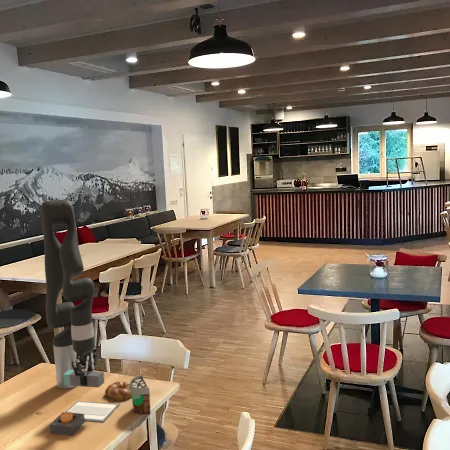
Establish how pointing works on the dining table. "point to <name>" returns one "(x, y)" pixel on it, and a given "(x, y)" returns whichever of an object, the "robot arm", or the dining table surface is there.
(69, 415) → the button
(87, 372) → the marker
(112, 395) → the pretzel
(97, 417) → the drawing board
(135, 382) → the food container
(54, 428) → the button housing
